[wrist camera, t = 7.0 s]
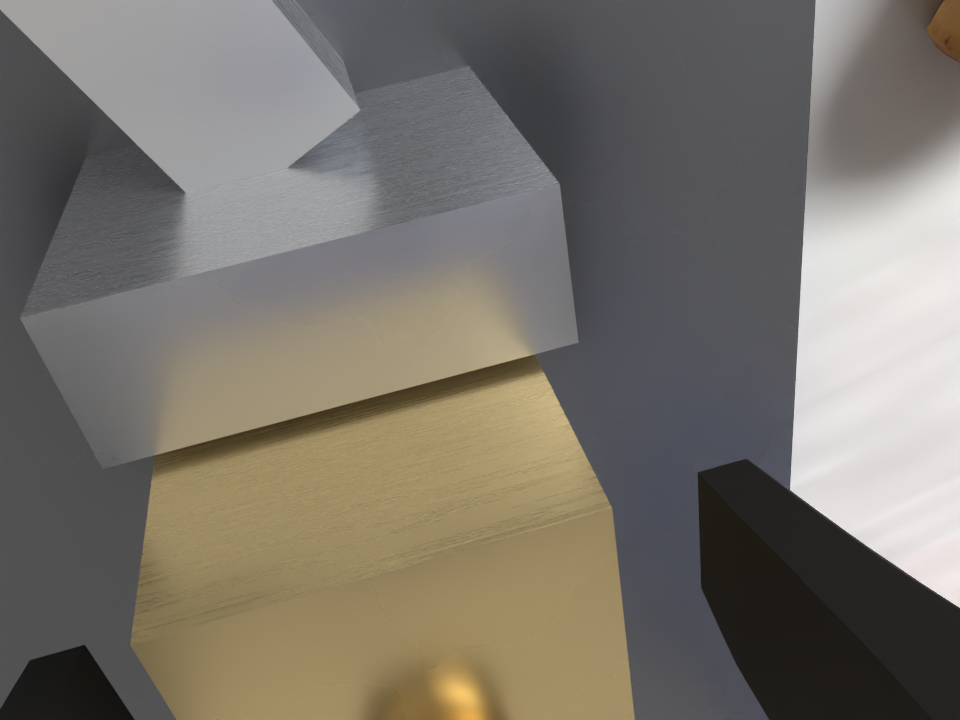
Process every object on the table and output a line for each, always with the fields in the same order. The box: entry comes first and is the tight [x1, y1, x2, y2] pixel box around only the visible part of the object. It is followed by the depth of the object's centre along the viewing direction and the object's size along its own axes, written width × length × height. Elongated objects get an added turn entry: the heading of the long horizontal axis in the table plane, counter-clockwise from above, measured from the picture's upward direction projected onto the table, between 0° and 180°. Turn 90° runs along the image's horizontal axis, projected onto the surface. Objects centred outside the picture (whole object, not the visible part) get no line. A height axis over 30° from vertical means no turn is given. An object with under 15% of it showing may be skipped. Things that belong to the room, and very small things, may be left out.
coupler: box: [130, 354, 635, 720], centre depth 10 cm, size 6×4×6 cm, turn 10°
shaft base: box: [0, 0, 815, 720], centre depth 12 cm, size 21×17×4 cm
